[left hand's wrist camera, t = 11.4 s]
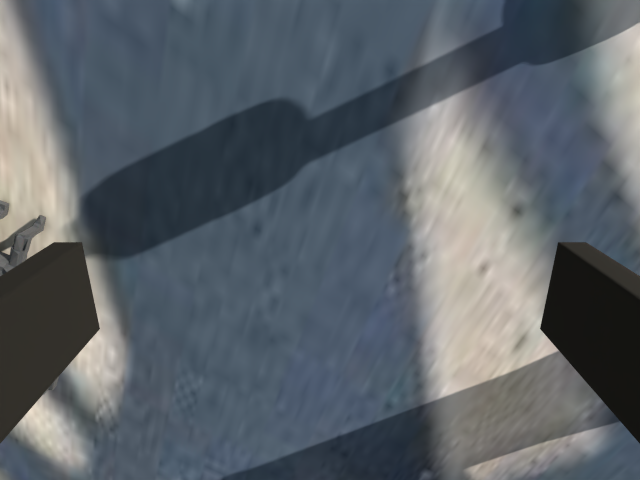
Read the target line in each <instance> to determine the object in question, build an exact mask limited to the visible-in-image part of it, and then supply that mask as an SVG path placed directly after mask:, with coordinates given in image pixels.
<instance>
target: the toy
mask: <svg viewBox="0 0 640 480" xmlns="http://www.w3.org/2000/svg"><path fill="white" fill-rule="evenodd" d="M8 208H9V203H6V202H3V201H0V219H2V218H4V217H5V216H6V215H7V214H8ZM45 220H46V217H44V216H41V215H40V216H39V217H38V218H37V220H36V221H35V223H34V224H33V226H32V227H30V228H28V229H26V230H25V231H23V232H21V233H18V234H16V235H15V239H14V246H12V247H11V252H10V255H8V254H5V253H3V252H0V276H1V275H3V274H5V273H6V272H8V271H9V270H11V269H13V268H14V267H16V266H17V265H19V264H21V263H22V262H24V261H25V260H26V258H27V252H28V250H29V247H30V243H31V239H32V238H33V237H34V236H35V235H36V234H38V233H40V232H41V231H43V229H44V224H45ZM58 377H59V376H58ZM58 377H57V379H56V380H55V381H54V382H53V383H52V384H51V386H50V387H49V388H48V389H47V390H46V391H45V392H44V394H45V393H46V392H47V391H48V390H53V389H54V388H55V387H56V385H57V381H58Z"/></svg>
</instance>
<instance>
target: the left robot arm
mask: <svg viewBox="0 0 640 480" xmlns="http://www.w3.org/2000/svg"><path fill="white" fill-rule="evenodd" d="M99 329H100V328H99V323H98V318H97V313H96V308H95V304H94V299H93V294H92V289H91V284H90V280H89V275H88V270H87V265H86V260H85V255H84V251H83V246H82V242H54V243H52V244H51V245H49V246H48V247H46V248H44V249H43V250H41V251H40V252H38V253H36V254H35V255H33V256H32V257H30V258H29V259H27V260H25V261H24V262H22V263H21V264H19V265H17V266H16V267H14V268H13V269H11V270H9V271H8V272H6V273H5V274H3V275H1V276H0V443H1V442H2V441H3V440H4V438H5V437H6V436H7V435H8V434H9V433H10V432H11V430H12V429H13V428H14V427H15V426H16V425H17V424H18V422H19V421H20V420H21V419H22V418H23V417H24V415H25V414H26V413H27V412H28V411H29V410H30V409H31V407H32V406H33V405H34V404H35V403H36V402H37V400H38V399H39V398H40V397H41V396H42V395H43V394H44V392H45V391H46V390H47V389H48V388H49V387H50V386H51V384H52V383H53V382H54V381H55V380H56V379H57V377H58V376H59V375H60V374H61V373H62V372H63V371H64V369H65V368H66V367H67V366H68V365H69V364H70V362H71V361H72V360H73V359H74V358H75V357H76V356H77V354H78V353H79V352H80V351H81V350H82V349H83V348H84V346H85V345H86V344H87V343H88V342H89V341H90V339H91V338H92V337H93V336H94V335H95V334H96V333H97V331H98V330H99ZM540 329H541V330H542V331H543V333H544V334H545V335H546V336H547V337H548V338H549V339H550V341H551V342H552V343H553V344H554V345H555V346H556V348H557V349H558V350H559V351H560V352H561V353H562V354H563V356H564V357H565V358H566V359H567V360H568V361H569V362H570V364H571V365H572V366H573V367H574V368H575V369H576V371H577V372H578V373H579V374H580V375H581V376H582V377H583V379H584V380H585V381H586V382H587V383H588V384H589V386H590V387H591V388H592V389H593V390H594V391H595V392H596V394H597V395H598V396H599V397H600V398H601V399H602V400H603V402H604V403H605V404H606V405H607V406H608V407H609V409H610V410H611V411H612V412H613V413H614V414H615V415H616V417H617V418H618V419H619V420H620V421H621V422H622V424H623V425H624V426H625V427H626V428H627V429H628V430H629V432H630V433H631V434H632V435H633V436H634V437H635V438H636V440H637V441H638V442H639V443H640V276H639V275H637V274H635V273H634V272H632V271H631V270H629V269H627V268H626V267H624V266H623V265H621V264H619V263H618V262H616V261H615V260H613V259H611V258H610V257H608V256H607V255H605V254H604V253H602V252H600V251H599V250H597V249H596V248H594V247H592V246H591V245H589V244H588V243H586V242H558V246H557V251H556V255H555V260H554V265H553V270H552V275H551V280H550V284H549V289H548V294H547V299H546V304H545V308H544V313H543V318H542V323H541V328H540Z"/></svg>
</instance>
